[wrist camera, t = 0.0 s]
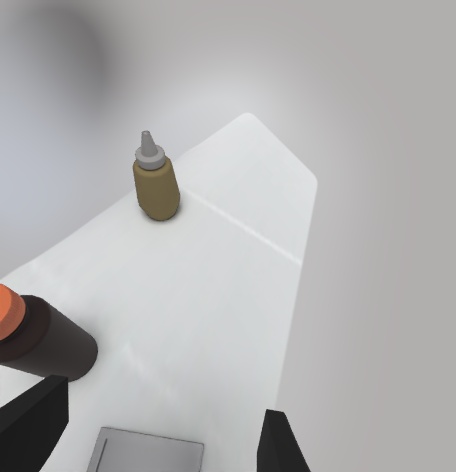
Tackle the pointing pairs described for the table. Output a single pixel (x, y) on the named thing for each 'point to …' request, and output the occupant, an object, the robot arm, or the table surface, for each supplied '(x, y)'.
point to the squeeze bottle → (155, 180)
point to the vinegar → (42, 338)
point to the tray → (143, 453)
